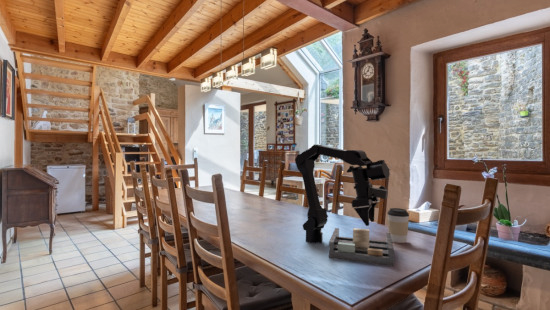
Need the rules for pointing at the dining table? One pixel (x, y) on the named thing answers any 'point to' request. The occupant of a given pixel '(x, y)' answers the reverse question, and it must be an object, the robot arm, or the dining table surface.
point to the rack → (362, 250)
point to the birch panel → (361, 237)
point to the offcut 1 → (346, 247)
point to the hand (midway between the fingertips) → (370, 223)
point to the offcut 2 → (375, 251)
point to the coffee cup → (398, 224)
